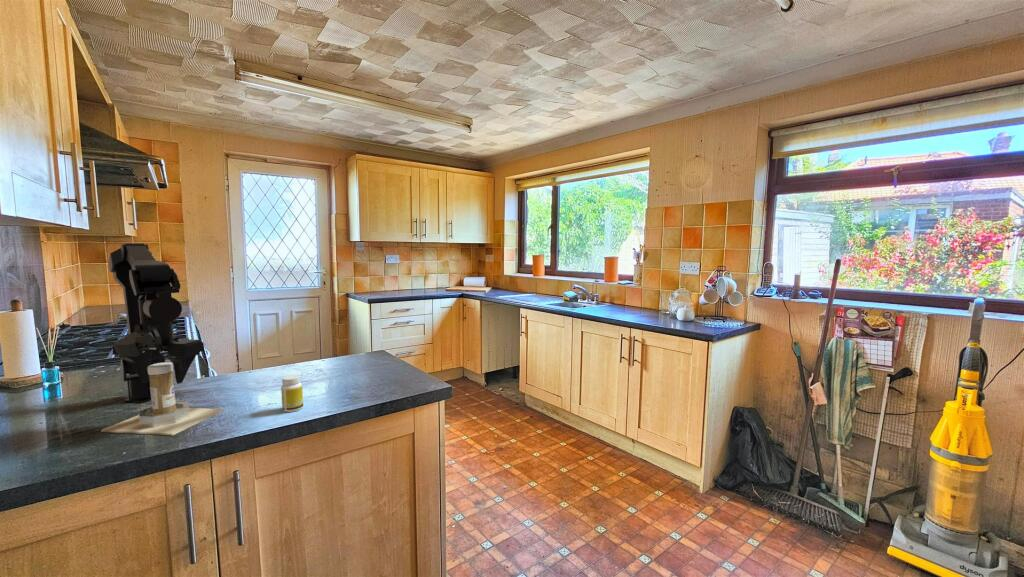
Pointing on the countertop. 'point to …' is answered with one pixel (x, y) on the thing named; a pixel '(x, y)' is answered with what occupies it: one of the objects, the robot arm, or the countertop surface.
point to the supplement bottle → (291, 393)
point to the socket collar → (164, 416)
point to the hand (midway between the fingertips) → (162, 382)
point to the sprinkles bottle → (162, 388)
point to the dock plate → (171, 429)
